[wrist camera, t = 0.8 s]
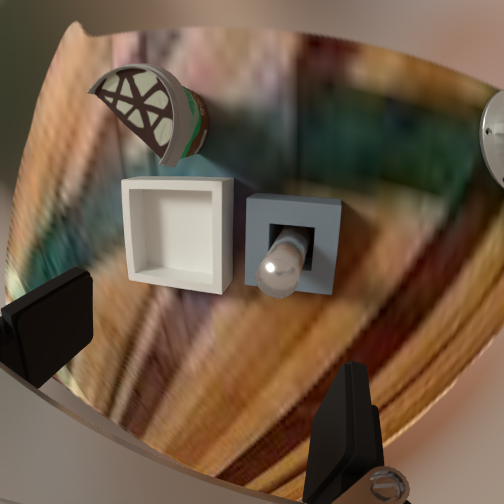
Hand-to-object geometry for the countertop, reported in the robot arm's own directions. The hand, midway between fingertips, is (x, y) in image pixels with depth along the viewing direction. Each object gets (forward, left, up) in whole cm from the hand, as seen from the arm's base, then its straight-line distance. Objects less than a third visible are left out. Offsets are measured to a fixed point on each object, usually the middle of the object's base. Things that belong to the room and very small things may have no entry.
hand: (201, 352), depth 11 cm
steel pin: (0, +3, -26) cm, 26 cm away
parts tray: (+13, +3, -26) cm, 29 cm away
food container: (+12, -11, -26) cm, 31 cm away
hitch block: (0, +3, -26) cm, 26 cm away
